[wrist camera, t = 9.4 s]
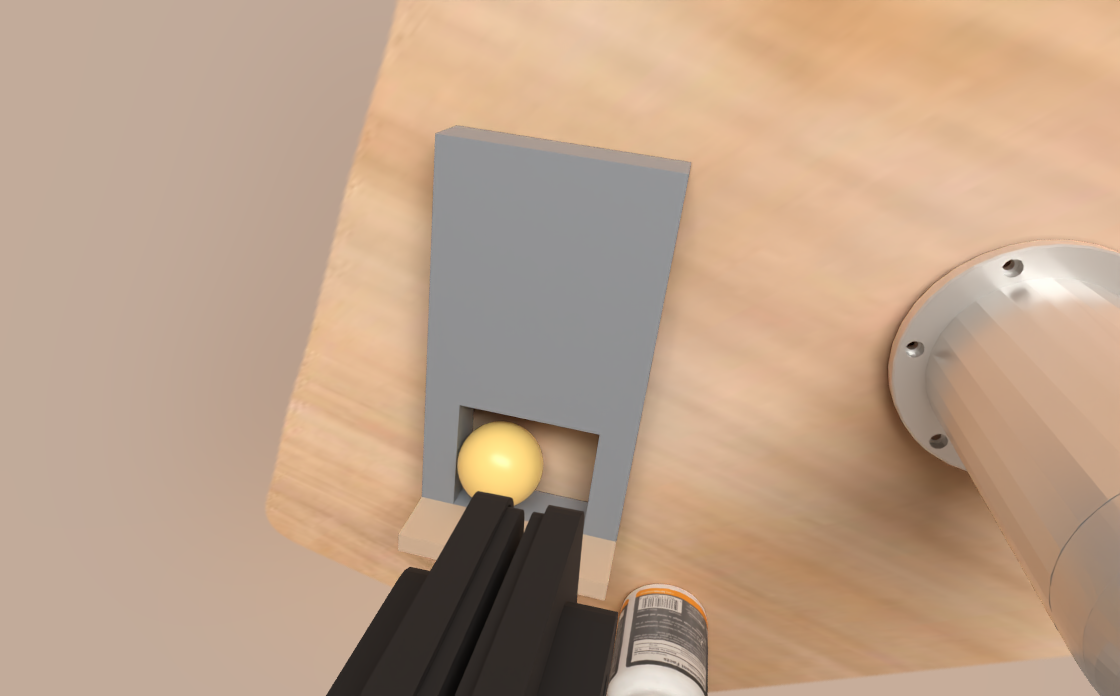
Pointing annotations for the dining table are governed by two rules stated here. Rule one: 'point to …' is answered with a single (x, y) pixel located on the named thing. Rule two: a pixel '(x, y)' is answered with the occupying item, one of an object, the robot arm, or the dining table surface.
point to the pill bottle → (660, 644)
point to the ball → (500, 461)
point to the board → (543, 314)
